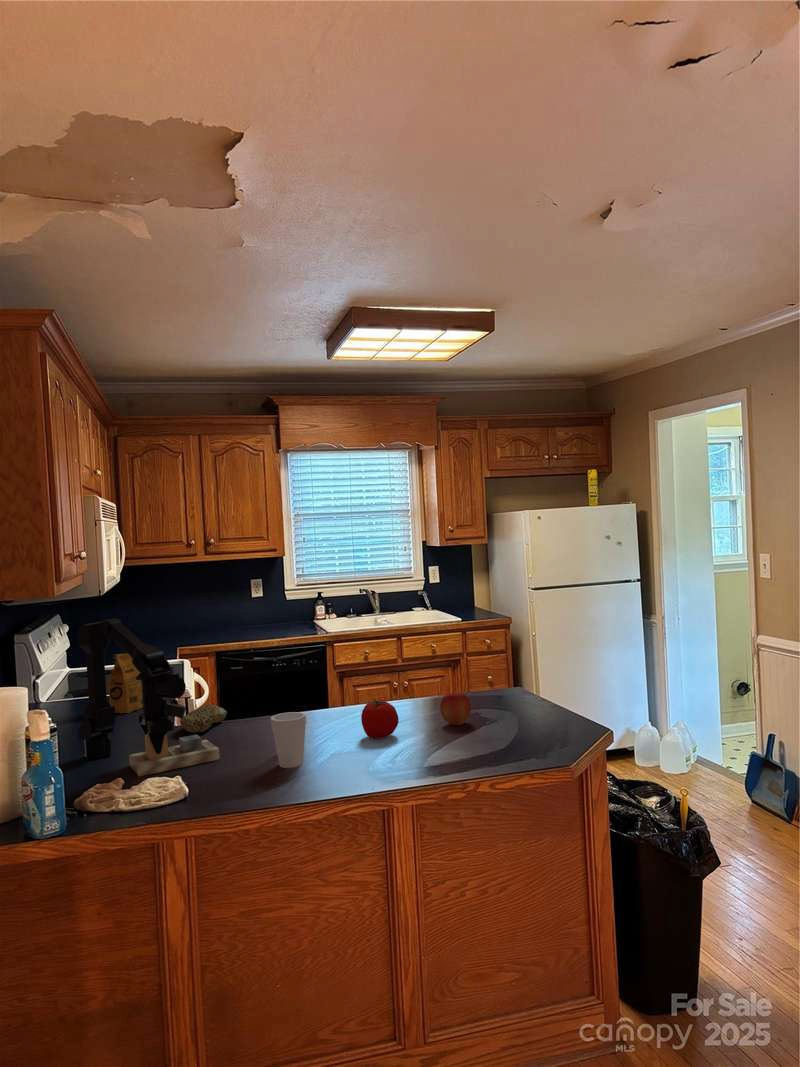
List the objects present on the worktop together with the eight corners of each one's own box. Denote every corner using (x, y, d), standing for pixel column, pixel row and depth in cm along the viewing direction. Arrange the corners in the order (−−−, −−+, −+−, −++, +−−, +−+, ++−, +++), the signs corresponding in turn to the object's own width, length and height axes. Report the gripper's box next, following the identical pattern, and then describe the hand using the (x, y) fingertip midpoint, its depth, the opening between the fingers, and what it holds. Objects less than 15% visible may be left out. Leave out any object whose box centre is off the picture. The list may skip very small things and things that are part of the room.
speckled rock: (203, 724, 263) (163, 727, 245) (208, 701, 263) (169, 703, 246) (233, 733, 257) (194, 737, 239) (238, 710, 258) (200, 712, 240)
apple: (477, 725, 233) (475, 692, 233) (449, 730, 229) (447, 697, 229) (463, 718, 242) (461, 687, 242) (436, 723, 238) (434, 691, 238)
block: (149, 760, 208) (148, 738, 208) (145, 755, 213) (144, 734, 213) (168, 756, 211) (167, 734, 211) (164, 752, 215) (162, 731, 215)
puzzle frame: (139, 776, 203) (137, 754, 203) (129, 765, 214) (128, 744, 214) (219, 759, 214) (218, 738, 214) (206, 749, 225) (205, 729, 225)
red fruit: (375, 730, 234) (372, 694, 234) (407, 733, 228) (404, 696, 228) (353, 741, 224) (350, 703, 224) (386, 744, 218) (383, 706, 218)
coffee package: (105, 714, 282) (101, 655, 282) (129, 706, 294) (125, 649, 294) (126, 715, 279) (122, 655, 278) (149, 706, 290) (145, 649, 290)
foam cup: (310, 757, 210) (307, 711, 210) (307, 768, 201) (304, 719, 201) (276, 760, 210) (273, 713, 210) (271, 770, 201) (268, 722, 200)
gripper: (190, 696, 208) (194, 753, 208) (173, 686, 224) (177, 739, 224) (149, 703, 202) (152, 761, 202) (134, 692, 218) (138, 746, 218)
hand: (156, 751), depth 212 cm, fingers closed on block, 5 cm apart
